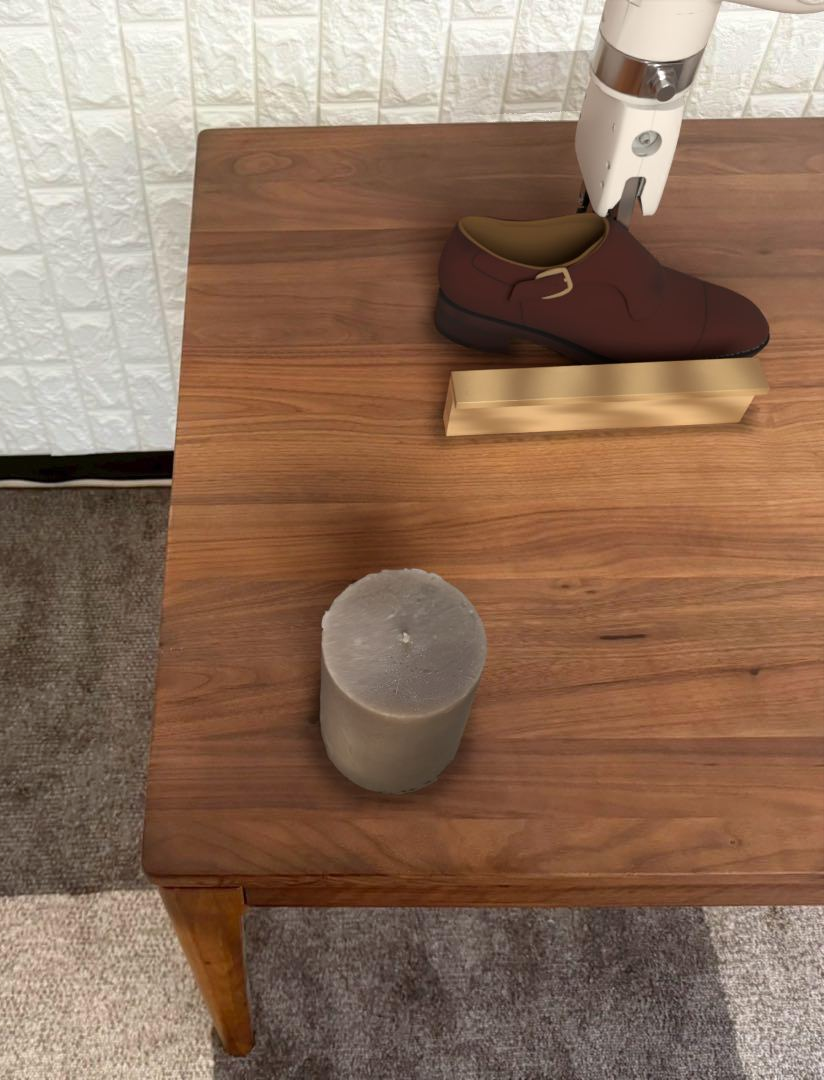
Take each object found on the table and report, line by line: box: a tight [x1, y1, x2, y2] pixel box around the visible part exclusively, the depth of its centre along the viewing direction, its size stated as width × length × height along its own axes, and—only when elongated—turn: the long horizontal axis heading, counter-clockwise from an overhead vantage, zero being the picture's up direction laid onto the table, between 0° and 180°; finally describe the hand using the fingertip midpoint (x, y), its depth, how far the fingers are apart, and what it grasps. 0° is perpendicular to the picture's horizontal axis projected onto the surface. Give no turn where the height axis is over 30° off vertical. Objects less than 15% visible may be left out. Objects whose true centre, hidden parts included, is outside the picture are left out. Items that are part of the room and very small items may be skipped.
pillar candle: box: [319, 567, 488, 795], centre depth 63 cm, size 10×10×15 cm
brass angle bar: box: [442, 356, 771, 437], centre depth 80 cm, size 24×3×6 cm, turn 92°
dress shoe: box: [434, 212, 771, 365], centre depth 83 cm, size 9×28×12 cm, turn 81°
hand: (587, 249), depth 88 cm, fingers closed
